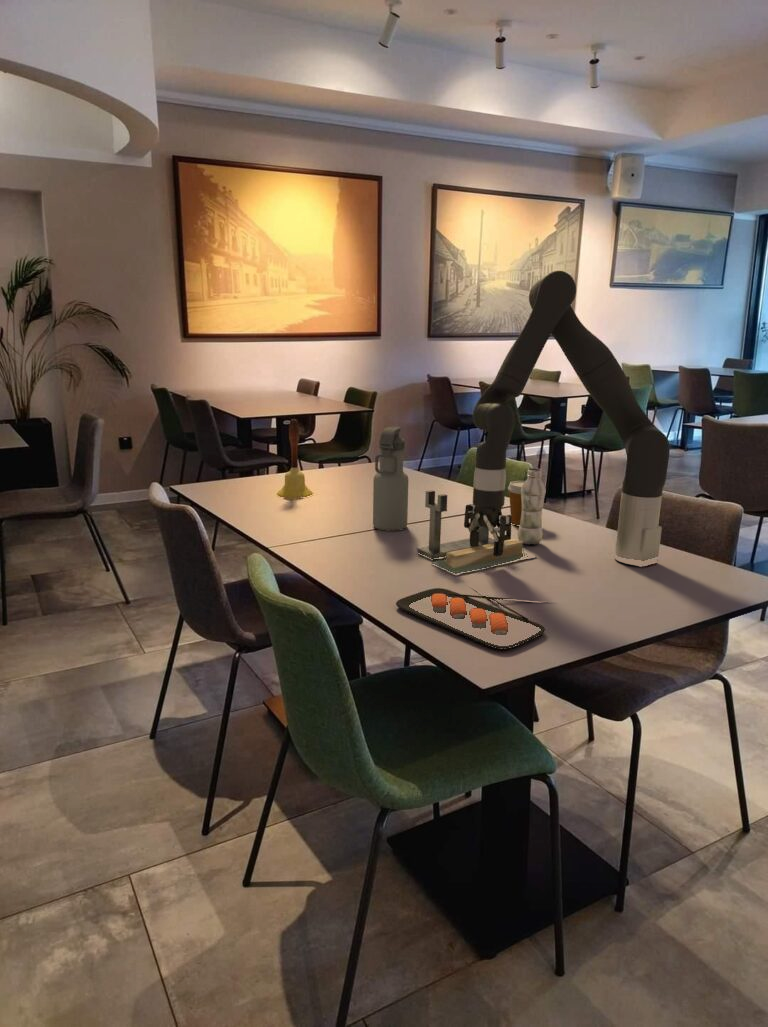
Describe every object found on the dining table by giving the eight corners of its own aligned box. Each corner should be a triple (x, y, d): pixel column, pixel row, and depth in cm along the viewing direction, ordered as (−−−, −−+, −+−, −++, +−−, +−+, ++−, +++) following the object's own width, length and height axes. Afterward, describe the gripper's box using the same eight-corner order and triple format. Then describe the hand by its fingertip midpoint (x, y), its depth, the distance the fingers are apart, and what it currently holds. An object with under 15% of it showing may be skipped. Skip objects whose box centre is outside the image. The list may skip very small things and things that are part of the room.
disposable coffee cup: (524, 530, 203) (527, 489, 200) (498, 523, 210) (501, 483, 207) (545, 525, 209) (548, 484, 205) (520, 518, 216) (522, 479, 213)
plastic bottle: (542, 541, 193) (548, 468, 188) (540, 548, 187) (546, 472, 182) (518, 539, 195) (523, 466, 190) (515, 546, 188) (520, 471, 183)
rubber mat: (536, 557, 179) (536, 555, 179) (455, 575, 165) (455, 573, 165) (511, 548, 186) (511, 545, 186) (431, 564, 172) (431, 562, 172)
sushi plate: (389, 610, 146) (389, 593, 145) (484, 578, 166) (485, 562, 165) (502, 660, 126) (504, 640, 125) (596, 616, 145) (597, 598, 144)
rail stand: (499, 546, 187) (502, 486, 183) (431, 560, 175) (434, 496, 171) (483, 541, 192) (486, 482, 188) (417, 554, 180) (419, 491, 176)
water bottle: (400, 533, 198) (403, 432, 190) (367, 529, 201) (368, 429, 193) (411, 524, 207) (414, 427, 200) (379, 520, 210) (381, 425, 203)
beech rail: (522, 553, 180) (522, 541, 180) (454, 568, 168) (454, 556, 168) (513, 550, 183) (514, 538, 182) (446, 564, 171) (446, 552, 170)
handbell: (279, 489, 247) (278, 416, 240) (315, 490, 246) (315, 417, 240) (273, 498, 235) (271, 421, 228) (310, 499, 234) (310, 422, 228)
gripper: (522, 490, 167) (517, 556, 171) (481, 479, 179) (478, 541, 183) (498, 493, 163) (493, 561, 167) (458, 482, 175) (455, 545, 179)
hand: (485, 551), depth 175 cm, fingers open, 8 cm apart
